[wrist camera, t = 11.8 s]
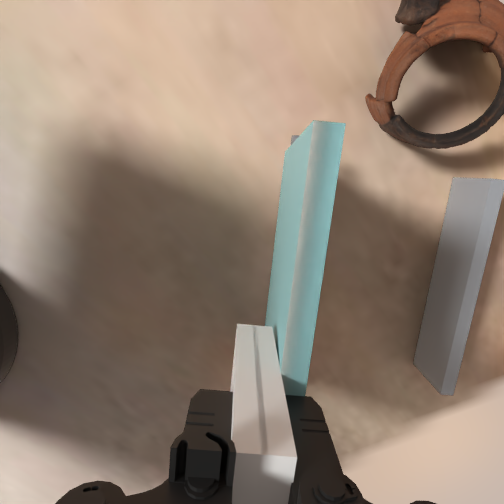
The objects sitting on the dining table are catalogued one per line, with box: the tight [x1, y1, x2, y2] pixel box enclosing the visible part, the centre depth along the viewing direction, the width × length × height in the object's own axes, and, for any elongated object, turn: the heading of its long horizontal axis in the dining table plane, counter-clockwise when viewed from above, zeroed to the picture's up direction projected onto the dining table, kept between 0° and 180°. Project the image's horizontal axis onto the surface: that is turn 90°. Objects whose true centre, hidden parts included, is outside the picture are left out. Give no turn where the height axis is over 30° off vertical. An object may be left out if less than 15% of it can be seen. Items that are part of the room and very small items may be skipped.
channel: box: [291, 136, 504, 395], centre depth 27 cm, size 14×19×5 cm
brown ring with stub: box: [365, 0, 504, 149], centre depth 24 cm, size 12×10×8 cm
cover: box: [265, 120, 345, 396], centre depth 18 cm, size 14×17×1 cm
